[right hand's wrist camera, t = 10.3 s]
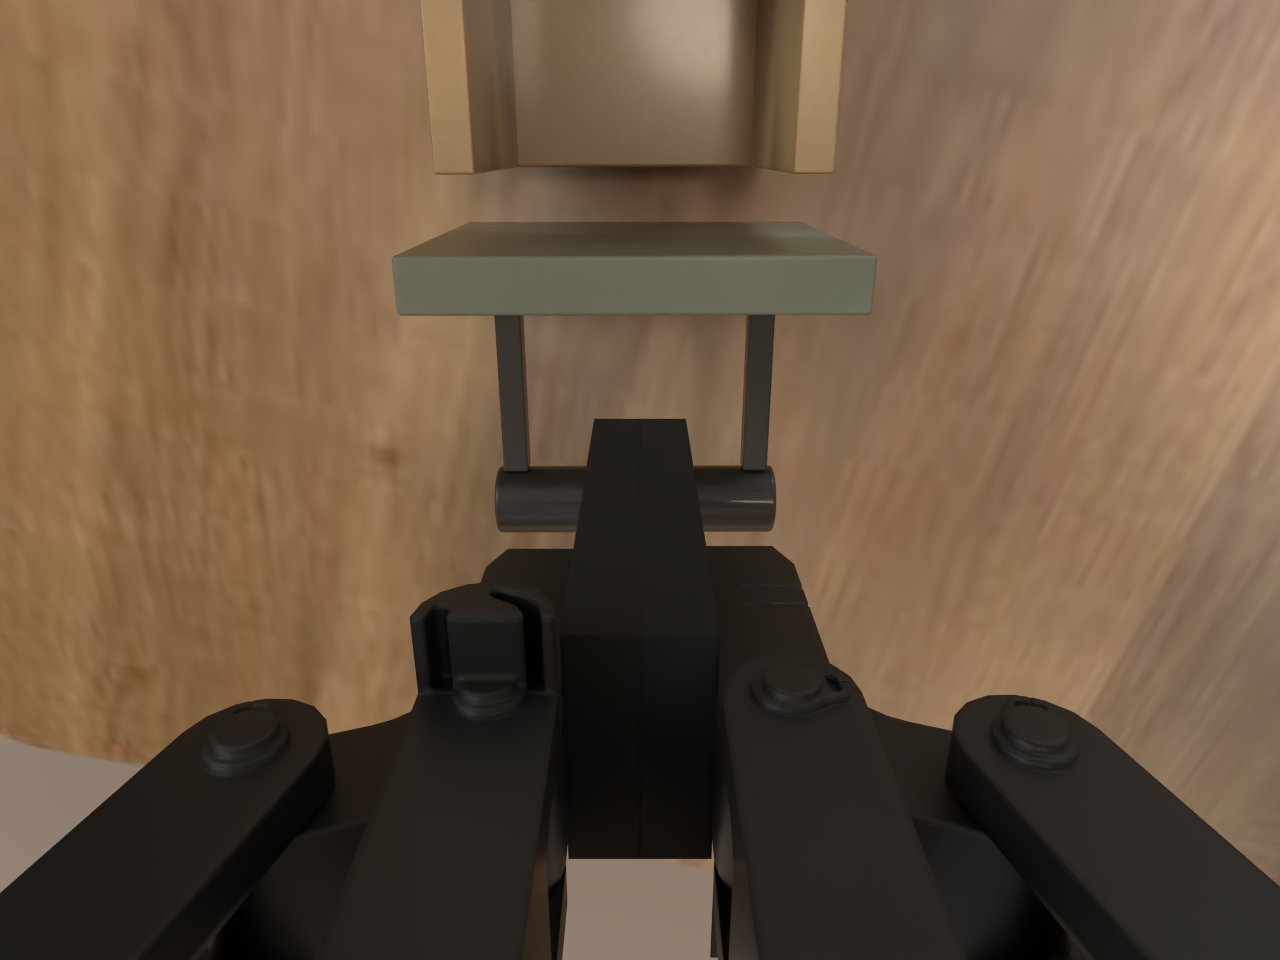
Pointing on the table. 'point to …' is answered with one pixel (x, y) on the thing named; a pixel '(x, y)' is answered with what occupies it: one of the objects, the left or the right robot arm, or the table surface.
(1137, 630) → the table surface
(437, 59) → the drawer
